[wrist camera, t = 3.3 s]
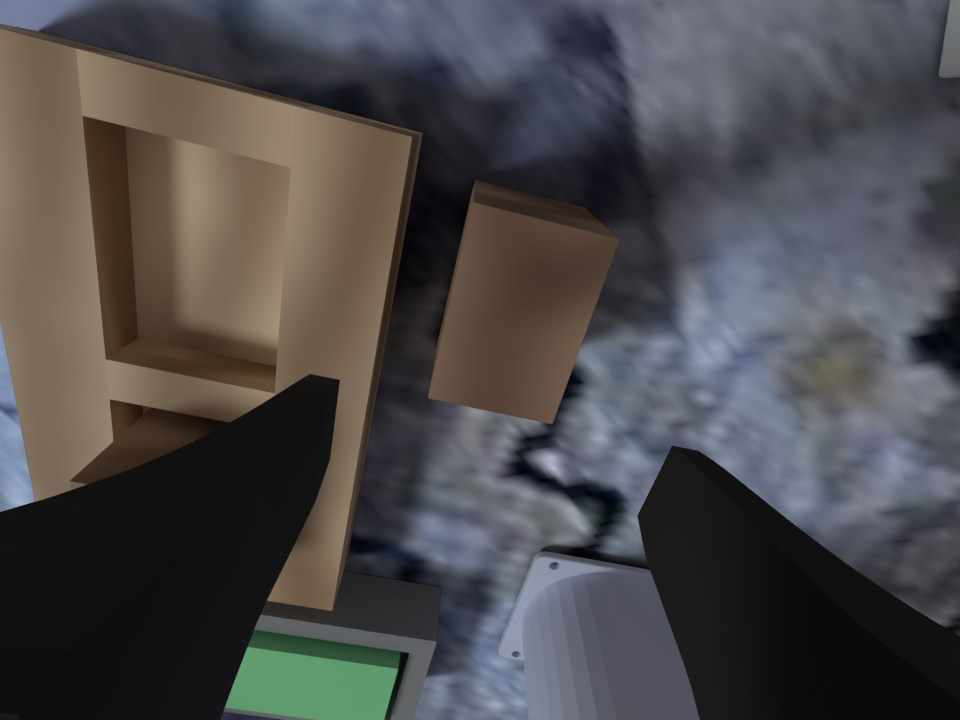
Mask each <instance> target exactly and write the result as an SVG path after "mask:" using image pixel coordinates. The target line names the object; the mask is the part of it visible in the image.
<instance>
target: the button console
mask: <svg viewBox="0 0 960 720" xmlns="http://www.w3.org/2000/svg"><path fill="white" fill-rule="evenodd" d="M440 597H441V587H436V586H430V585H424V584H418V583H412V582H406V581H400V580H394V579H388V578H382V577H376V576H370V575H364V574H358V573H352V572H346V571H344V572H343V576H342V579H341V583H340V586H339V589H338V593H337V596H336V600H335V603H334V606H333V610H332V611H329V610H323V609H317V608H310V607H304V606H297V605H291V604H285V603H278V602H272V601H266V604H265V606H264V608H263V610H262V613H261V615H260V617H259V619H258V622H257V624H256V626H255V629H254V630H261V631H267V632H274V633H281V634H287V635H294V636H301V637H307V638H314V639H321V640H327V641H334V642H340V643H347V644H354V645H360V646H367V647H374V648H380V649H387V650H394V651H400V652H401V653H400V660H399V667H398V671H397V675H396V679H395V682H394V686H393V689H392V693H391V697H390V700H389V704H388V708H387V711H386V715H385V718H384V720H412V719H413V716H414V712H415V709H416V706H417V703H418V700H419V697H420V694H421V690H422V687H423V684H424V681H425V678H426V675H427V672H428V669H429V665H430V662H431V659H432V656H433V653H434V650H435V647H436V643H437V635H438V623H439V610H440ZM224 712H231V713H239V714H246V715H254V716H262V717H269V718H277V719H284V720H314V719H307V718H299V717H292V716H284V715H277V714H269V713H262V712H254V711H246V710H239V709H231V708H224Z"/></svg>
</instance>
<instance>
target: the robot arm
mask: <svg viewBox="0 0 960 720" xmlns="http://www.w3.org/2000/svg"><path fill="white" fill-rule="evenodd" d="M339 385H340V380H338V379H333V378H328V377H323V376H318V375H313V374H309V375H307V376H306V377H304V378H302V379H300V380H299V381H297V382H296V383H294V384H292V385H291V386H289V387H288V388H286V389H284V390H283V391H281V392H280V393H278V394H277V395H275V396H273V397H272V398H270V399H269V400H267V401H265V402H264V403H262V404H260V405H259V406H257V407H255V408H254V409H252V410H250V411H249V412H247V413H245V414H244V415H242V416H240V417H239V418H237V419H235V420H233V421H231V422H230V423H228V424H226V425H224V426H222V427H220V428H218V429H216V430H214V431H213V432H211V433H209V434H207V435H205V436H203V437H201V438H199V439H197V440H195V441H193V442H191V443H189V444H187V445H185V446H183V447H181V448H179V449H176V450H174V451H172V452H170V453H168V454H165V455H163V456H160V457H158V458H156V459H153V460H151V461H149V462H146V463H144V464H141V465H139V466H137V467H134V468H132V469H129V470H126V471H124V472H121V473H118V474H116V475H113V476H110V477H107V478H104V479H101V480H98V481H96V482H93V483H90V484H87V485H84V486H81V487H78V488H76V489H73V490H70V491H67V492H64V493H61V494H58V495H55V496H52V497H49V498H46V499H43V500H39V501H36V502H33V503H29V504H26V505H23V506H19V507H16V508H13V509H9V510H6V511H2V512H0V720H220V719H221V716H222V714H223V711H224V708H225V706H226V703H227V700H228V697H229V695H230V692H231V689H232V687H233V684H234V681H235V679H236V676H237V673H238V671H239V668H240V666H241V663H242V660H243V658H244V655H245V652H246V650H247V647H248V645H249V642H250V639H251V637H252V634H253V632H254V629H255V626H256V624H257V622H258V619H259V617H260V615H261V613H262V610H263V608H264V606H265V604H266V601H267V599H268V597H269V595H270V593H271V591H272V589H273V587H274V585H275V583H276V581H277V579H278V577H279V575H280V573H281V571H282V569H283V567H284V565H285V563H286V561H287V559H288V557H289V555H290V553H291V551H292V549H293V547H294V545H295V543H296V541H297V539H298V537H299V535H300V533H301V531H302V529H303V526H304V524H305V522H306V520H307V518H308V516H309V514H310V512H311V510H312V508H313V506H314V504H315V502H316V499H317V496H318V493H319V490H320V487H321V485H322V482H323V479H324V476H325V473H326V470H327V467H328V464H329V461H330V456H331V448H332V440H333V432H334V424H335V416H336V408H337V400H338V392H339ZM638 520H639V526H640V531H641V536H642V541H643V546H644V550H645V555H646V559H647V562H648V565H649V568H650V570H648V569H642V568H637V567H631V566H625V565H620V564H614V563H609V562H603V561H597V560H592V559H586V558H580V557H575V556H569V555H564V554H558V553H552V552H547V551H542V552H539V553H538V554H536V555H535V557H534V559H533V562H532V564H531V567H530V569H529V571H528V574H527V576H526V579H525V581H524V584H523V586H522V589H521V591H520V594H519V596H518V599H517V601H516V604H515V606H514V609H513V611H512V614H511V616H510V618H509V621H508V623H507V626H506V628H505V631H504V633H503V636H502V638H501V641H500V643H499V646H498V651H499V655H500V656H502V657H504V658H509V659H516V660H522V661H524V669H525V681H526V693H527V705H528V717H529V720H960V636H958V635H956V634H955V633H953V632H951V631H950V630H948V629H946V628H944V627H943V626H941V625H939V624H938V623H936V622H934V621H933V620H931V619H929V618H928V617H926V616H925V615H923V614H921V613H920V612H918V611H916V610H915V609H913V608H912V607H910V606H908V605H907V604H905V603H904V602H902V601H901V600H899V599H898V598H896V597H895V596H893V595H892V594H890V593H889V592H887V591H886V590H884V589H883V588H881V587H880V586H878V585H877V584H875V583H874V582H872V581H871V580H869V579H868V578H866V577H865V576H863V575H862V574H860V573H859V572H857V571H856V570H855V569H853V568H852V567H850V566H849V565H847V564H846V563H845V562H843V561H842V560H840V559H839V558H838V557H836V556H835V555H834V554H832V553H831V552H830V551H828V550H827V549H826V548H824V547H823V546H822V545H820V544H819V543H818V542H816V541H815V540H814V539H812V538H811V537H810V536H808V535H807V534H806V533H804V532H803V531H802V530H800V529H799V528H798V527H797V526H795V525H794V524H793V523H791V522H790V521H789V520H788V519H786V518H785V517H784V516H783V515H781V514H780V513H779V512H778V511H776V510H775V509H774V508H773V507H771V506H770V505H769V504H768V503H766V502H765V501H764V500H763V499H761V498H760V497H759V496H758V495H756V494H755V493H754V492H753V491H751V490H750V489H749V488H748V487H746V486H745V485H744V484H743V483H741V482H740V481H739V480H738V479H736V478H735V477H734V476H733V475H731V474H730V473H729V472H727V471H726V470H725V469H724V468H722V467H721V466H720V465H718V464H717V463H716V462H714V461H713V460H711V459H710V458H709V457H707V456H706V455H704V454H702V453H701V452H699V451H696V450H691V449H686V448H681V447H676V446H672V447H671V449H670V451H669V453H668V455H667V457H666V459H665V462H664V464H663V466H662V468H661V470H660V472H659V474H658V476H657V478H656V480H655V482H654V484H653V486H652V488H651V490H650V492H649V494H648V496H647V498H646V500H645V502H644V504H643V506H642V508H641V510H640V512H639V514H638ZM553 562H557V563H553Z"/></svg>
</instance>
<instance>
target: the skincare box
mask: <svg viewBox="0 0 960 720" xmlns="http://www.w3.org/2000/svg"><path fill="white" fill-rule="evenodd" d="M938 74H939V77H941V78H955V77H960V0H950V3H949V10H948V17H947V23H946V29H945V36H944V42H943V49H942V56H941V62H940V68H939V73H938Z"/></svg>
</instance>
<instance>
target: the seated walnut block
mask: <svg viewBox="0 0 960 720" xmlns="http://www.w3.org/2000/svg"><path fill="white" fill-rule="evenodd" d="M228 423H230V422H225V421H220V420H215V419H209V418H204V417H199V416H194V415H189V414H183V413H178V412H173V411H168V410H163V409H158V408H152V407H151V408H150V409H149V410H148V411H147V412H146V413H145V414H143V415H142V416H141V417H140V418H139V419H138V420H137V421H136V422H135V423H133V424H132V425H131V426H130V427H129V428H128V429H127V430H126V431H125V432H123V433H122V434H121V435H120V436H119V437H118V438H117V439H116V440H115V441H113V442H112V443H111V444H110V445H109V446H108V447H107V448H106V449H105V450H103V451H102V452H101V453H100V454H99V455H98V456H97V457H96V458H94V459H93V460H92V461H91V462H90V463H89V464H88V465H87V466H86V467H84V468H83V469H82V470H81V471H80V472H79V473H78V474H77V475H76V476H74V477H73V478H72V479H71V480H70V481H69V482H70V489H71V490H73V489H76V488H78V487H81V486H84V485H87V484H90V483H93V482H96V481H98V480H101V479H104V478H107V477H110V476H113V475H116V474H118V473H121V472H124V471H126V470H129V469H132V468H134V467H137V466H139V465H141V464H144V463H146V462H149V461H151V460H153V459H156V458H158V457H160V456H163V455H165V454H168V453H170V452H172V451H174V450H176V449H179V448H181V447H183V446H185V445H187V444H189V443H191V442H193V441H195V440H197V439H199V438H201V437H203V436H205V435H207V434H209V433H211V432H213V431H214V430H216V429H218V428H220V427H222V426H224V425H226V424H228Z"/></svg>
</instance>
